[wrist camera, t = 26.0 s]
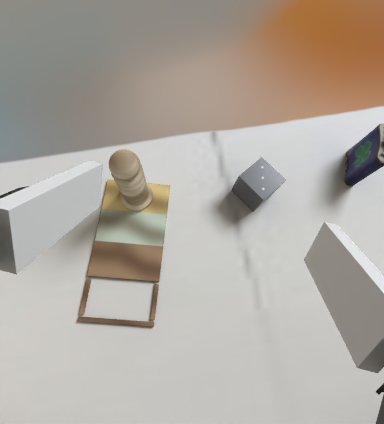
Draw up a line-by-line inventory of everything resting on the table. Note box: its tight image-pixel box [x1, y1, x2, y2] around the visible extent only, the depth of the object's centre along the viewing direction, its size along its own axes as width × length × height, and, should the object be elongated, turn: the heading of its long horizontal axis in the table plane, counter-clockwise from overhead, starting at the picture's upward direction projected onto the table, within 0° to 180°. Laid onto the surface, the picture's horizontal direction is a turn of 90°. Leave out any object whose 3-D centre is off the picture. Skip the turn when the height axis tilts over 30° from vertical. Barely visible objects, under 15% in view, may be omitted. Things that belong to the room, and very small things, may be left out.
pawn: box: [109, 150, 153, 211], centre depth 39 cm, size 6×6×14 cm
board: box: [78, 180, 170, 327], centre depth 42 cm, size 25×12×1 cm, turn 176°
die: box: [232, 157, 286, 211], centre depth 45 cm, size 6×6×6 cm
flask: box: [344, 124, 384, 186], centre depth 46 cm, size 9×3×11 cm, turn 162°
